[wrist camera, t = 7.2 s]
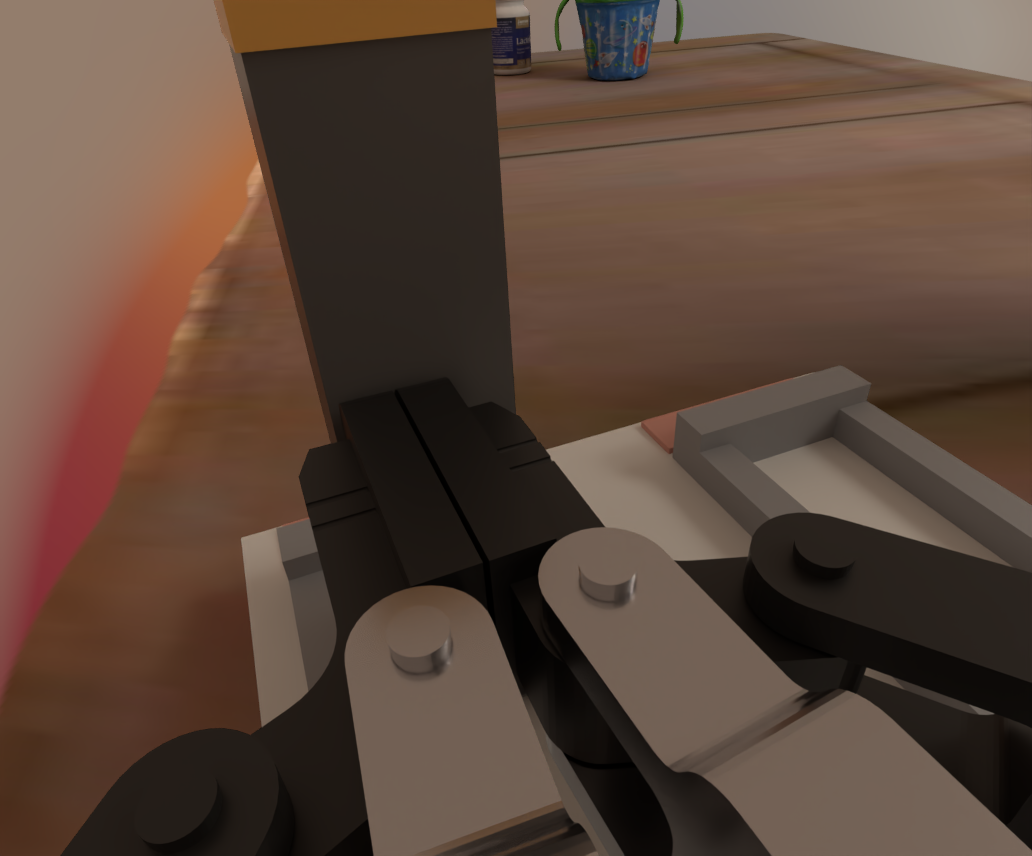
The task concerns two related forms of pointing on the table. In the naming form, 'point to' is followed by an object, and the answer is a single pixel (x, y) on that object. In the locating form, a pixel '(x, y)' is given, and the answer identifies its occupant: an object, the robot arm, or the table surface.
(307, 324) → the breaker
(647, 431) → the panel
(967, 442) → the table surface
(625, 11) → the snack cup
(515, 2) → the pill bottle
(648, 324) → the table surface
